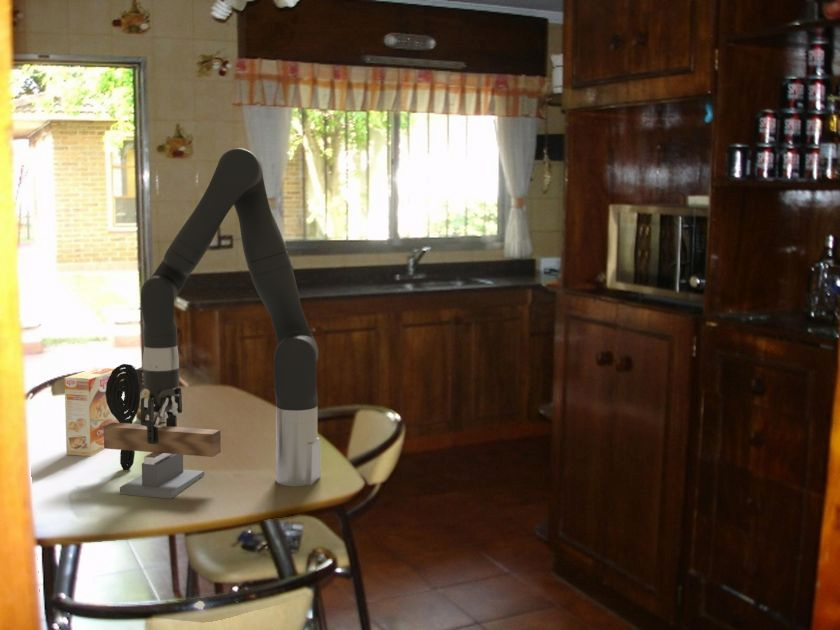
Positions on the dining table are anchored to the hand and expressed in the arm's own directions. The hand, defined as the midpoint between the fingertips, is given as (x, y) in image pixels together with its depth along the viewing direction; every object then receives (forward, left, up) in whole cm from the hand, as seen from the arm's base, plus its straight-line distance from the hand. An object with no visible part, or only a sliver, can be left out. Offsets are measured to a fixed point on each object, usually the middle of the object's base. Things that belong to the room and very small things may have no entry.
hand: (162, 438), depth 207 cm
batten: (0, 0, -3) cm, 3 cm away
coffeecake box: (+32, -24, -11) cm, 41 cm away
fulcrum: (0, 0, -11) cm, 11 cm away
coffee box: (+30, -52, -11) cm, 61 cm away
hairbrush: (+14, -9, -11) cm, 20 cm away
